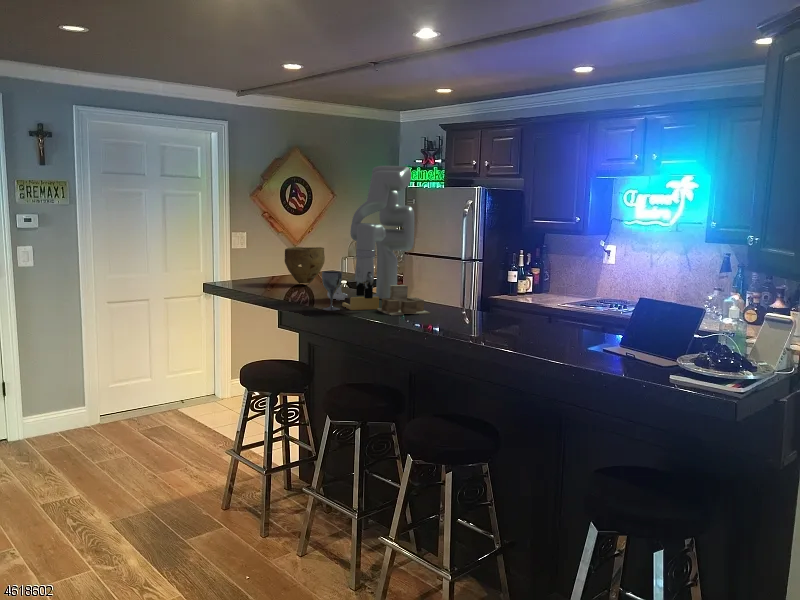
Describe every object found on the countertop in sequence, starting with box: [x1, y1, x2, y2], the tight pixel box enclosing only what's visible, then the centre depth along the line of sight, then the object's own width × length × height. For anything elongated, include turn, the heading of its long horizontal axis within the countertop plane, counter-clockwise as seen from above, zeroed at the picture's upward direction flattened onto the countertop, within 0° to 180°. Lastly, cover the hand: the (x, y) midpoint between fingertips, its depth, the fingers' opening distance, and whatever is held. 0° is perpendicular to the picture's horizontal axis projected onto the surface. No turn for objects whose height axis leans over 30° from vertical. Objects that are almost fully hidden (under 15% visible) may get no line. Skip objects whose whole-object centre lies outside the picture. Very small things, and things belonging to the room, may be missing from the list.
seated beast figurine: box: [326, 286, 348, 301], centre depth 291 cm, size 10×9×12 cm
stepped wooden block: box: [376, 284, 431, 316], centre depth 260 cm, size 15×17×10 cm
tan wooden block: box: [341, 296, 380, 311], centre depth 268 cm, size 11×12×5 cm
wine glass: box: [321, 270, 343, 311], centre depth 261 cm, size 8×8×15 cm
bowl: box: [284, 246, 325, 284], centre depth 337 cm, size 21×20×20 cm
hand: (364, 296), depth 263 cm, fingers open, 9 cm apart
